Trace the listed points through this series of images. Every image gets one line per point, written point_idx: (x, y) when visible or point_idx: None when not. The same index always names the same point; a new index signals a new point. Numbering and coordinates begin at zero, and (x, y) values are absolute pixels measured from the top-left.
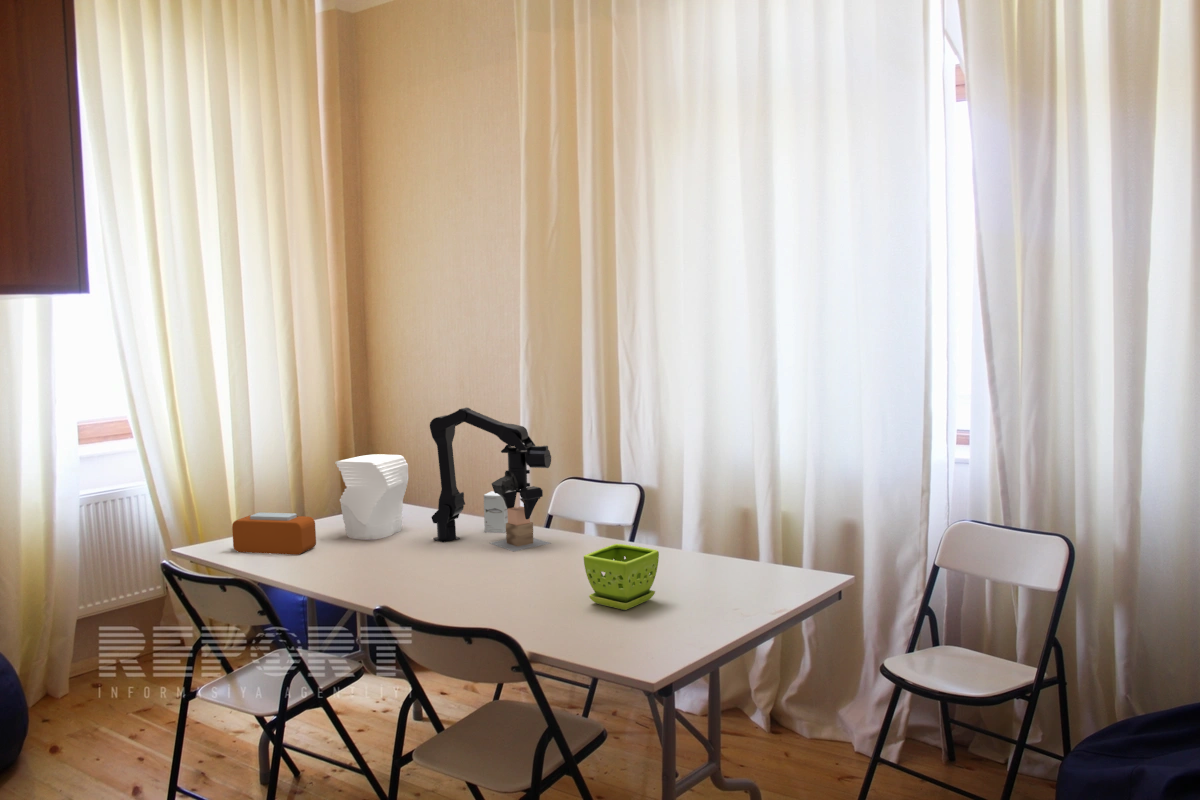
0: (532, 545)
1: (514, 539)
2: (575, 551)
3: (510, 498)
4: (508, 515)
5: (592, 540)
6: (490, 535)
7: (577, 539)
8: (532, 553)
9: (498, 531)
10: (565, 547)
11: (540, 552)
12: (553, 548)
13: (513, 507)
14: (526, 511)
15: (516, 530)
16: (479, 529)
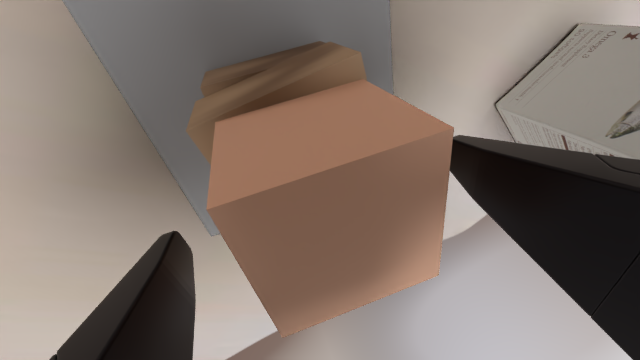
0: (197, 156)
1: (234, 71)
2: (27, 298)
3: (630, 264)
4: (384, 104)
5: (211, 340)
6: (520, 28)
7: (246, 308)
8: (3, 110)
9: (524, 82)
10: (127, 271)
11: (29, 160)
12: (120, 230)
13: (489, 209)
14: (83, 325)
15: (217, 102)
16: (629, 22)
